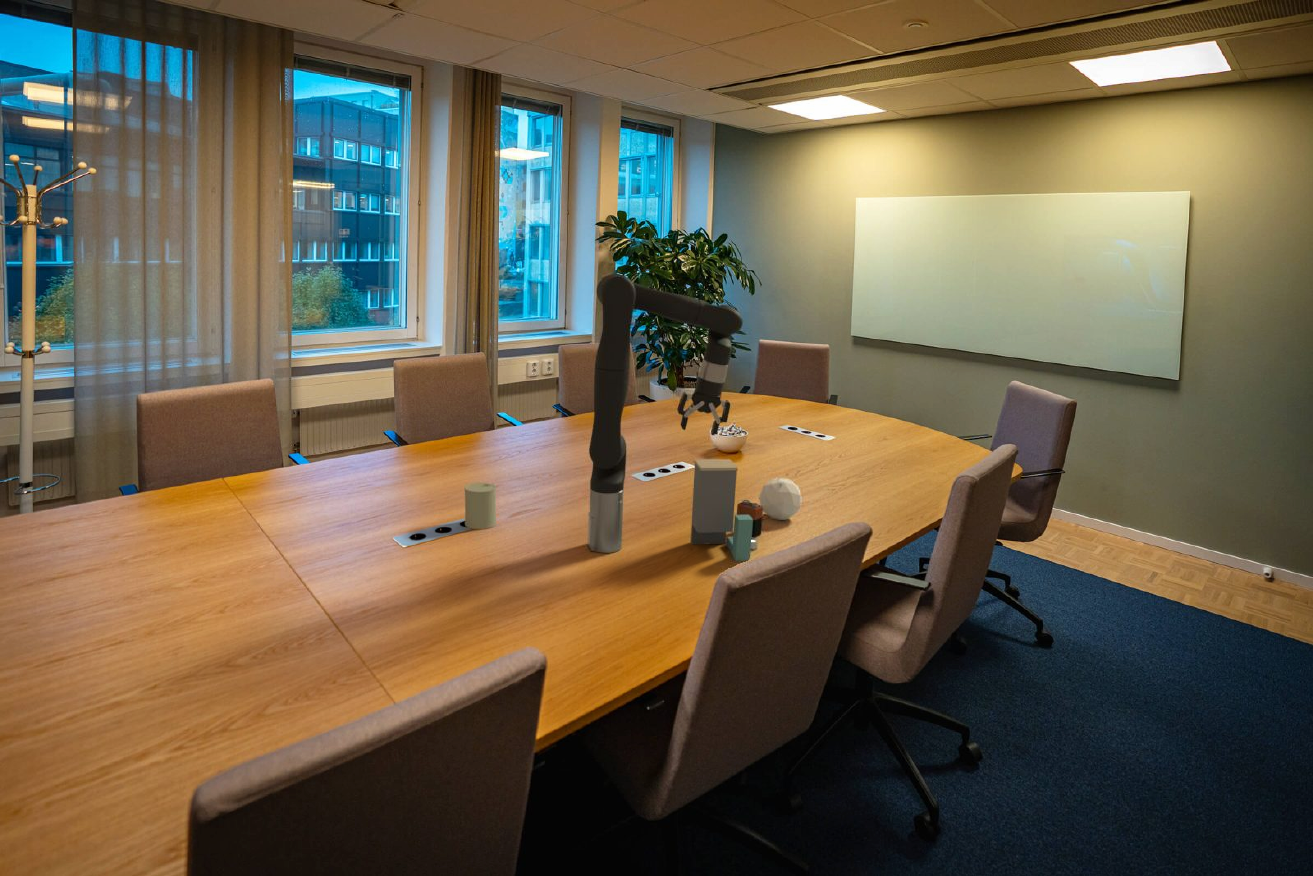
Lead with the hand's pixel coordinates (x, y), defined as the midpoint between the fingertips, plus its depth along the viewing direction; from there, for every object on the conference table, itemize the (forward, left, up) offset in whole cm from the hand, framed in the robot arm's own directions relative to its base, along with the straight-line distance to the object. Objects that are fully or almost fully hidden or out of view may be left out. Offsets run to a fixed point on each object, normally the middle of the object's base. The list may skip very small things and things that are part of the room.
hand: (697, 431), depth 227 cm
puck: (+15, -8, -32) cm, 37 cm away
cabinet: (+4, -7, -32) cm, 33 cm away
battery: (+18, +3, -32) cm, 37 cm away
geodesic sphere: (+32, +16, -32) cm, 48 cm away
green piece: (+10, -12, -32) cm, 36 cm away
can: (-61, +16, -32) cm, 71 cm away
